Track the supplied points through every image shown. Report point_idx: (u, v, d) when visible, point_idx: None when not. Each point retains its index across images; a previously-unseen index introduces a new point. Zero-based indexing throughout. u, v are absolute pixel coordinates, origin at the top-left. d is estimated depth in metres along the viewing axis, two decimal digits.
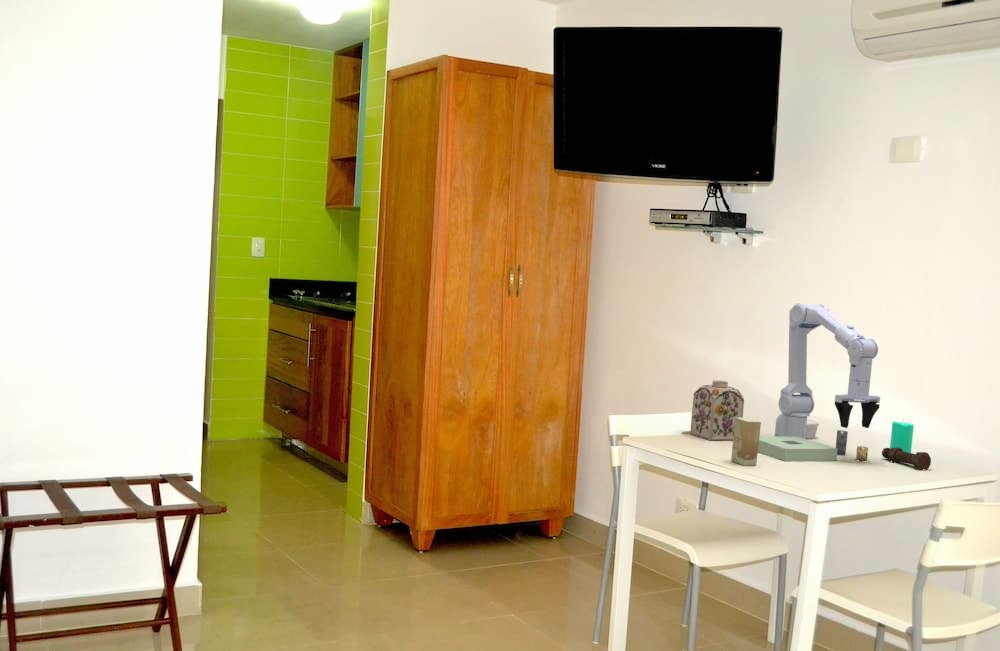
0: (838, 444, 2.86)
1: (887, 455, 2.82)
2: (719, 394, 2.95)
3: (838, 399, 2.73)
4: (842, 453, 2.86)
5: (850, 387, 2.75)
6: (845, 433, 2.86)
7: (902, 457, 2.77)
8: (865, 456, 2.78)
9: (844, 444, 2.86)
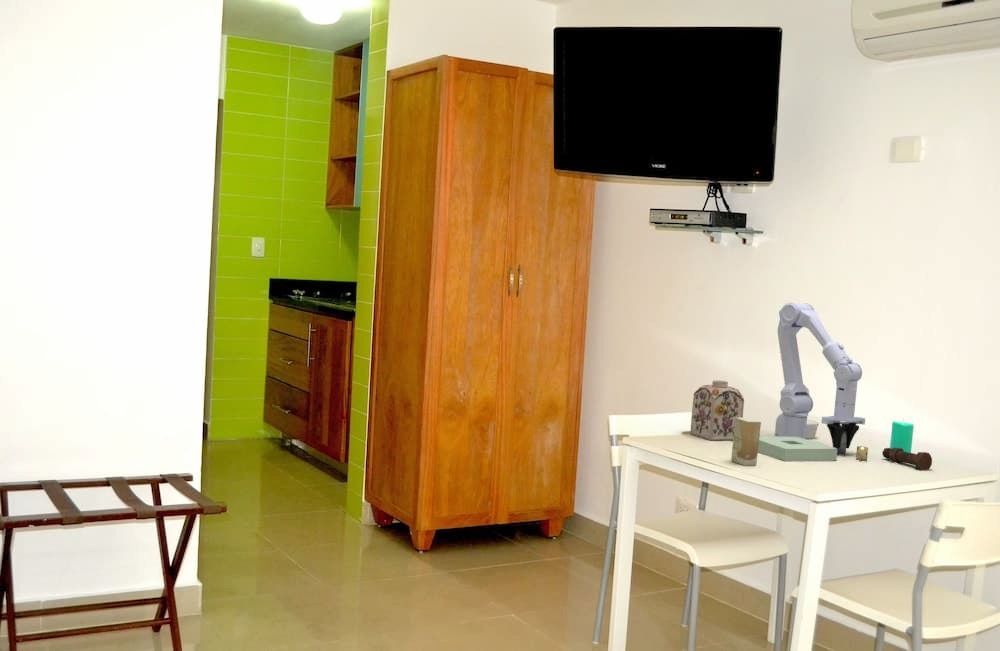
0: None
1: (888, 455, 2.82)
2: (719, 394, 2.95)
3: (825, 421, 2.84)
4: (842, 453, 2.86)
5: (836, 409, 2.86)
6: (845, 433, 2.86)
7: (903, 457, 2.77)
8: (865, 456, 2.78)
9: (844, 444, 2.86)
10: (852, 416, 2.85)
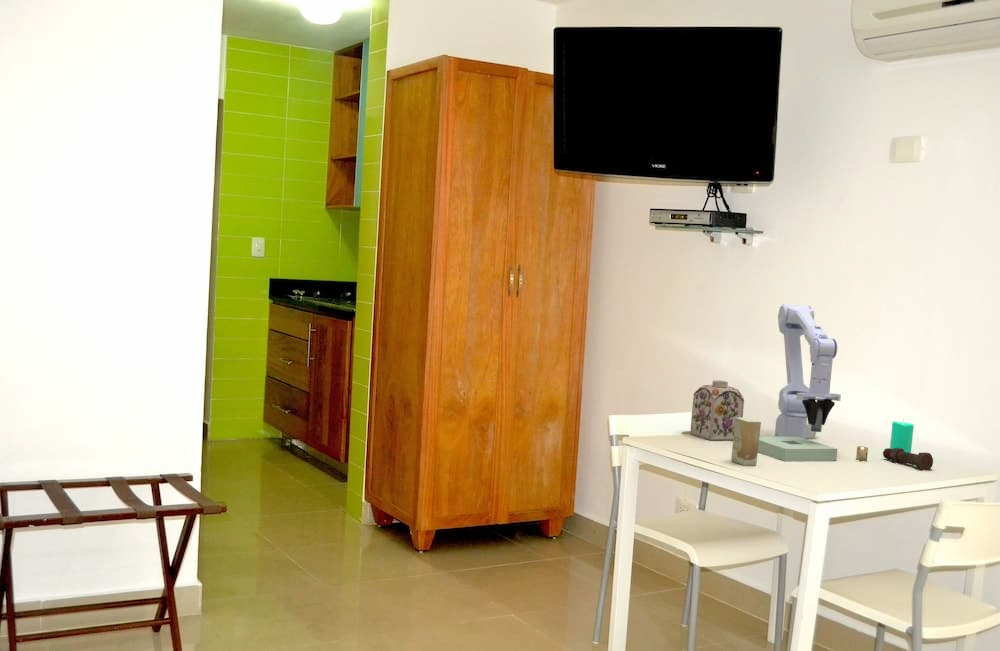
0: None
1: (888, 455, 2.82)
2: (719, 394, 2.95)
3: (800, 397, 2.80)
4: (818, 430, 2.82)
5: (811, 385, 2.82)
6: (821, 409, 2.82)
7: (904, 457, 2.76)
8: (865, 456, 2.78)
9: (820, 421, 2.82)
10: (827, 392, 2.81)
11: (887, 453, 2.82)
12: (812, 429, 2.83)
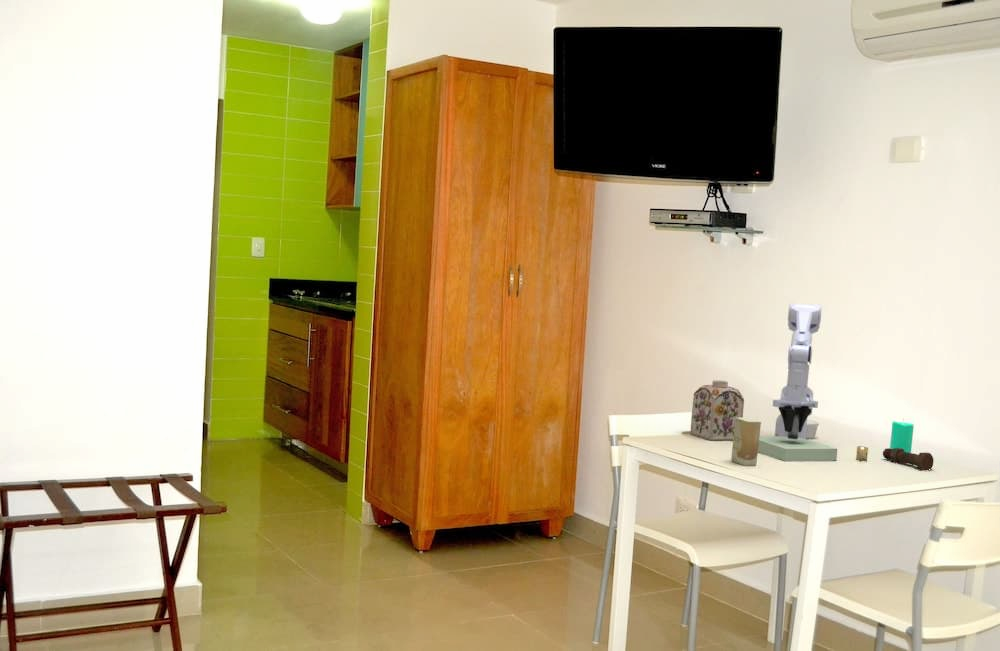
0: None
1: (888, 456, 2.82)
2: (719, 394, 2.95)
3: (776, 404, 2.77)
4: (794, 437, 2.79)
5: (788, 392, 2.79)
6: (797, 416, 2.79)
7: (904, 457, 2.76)
8: (865, 456, 2.78)
9: (796, 428, 2.79)
10: (804, 399, 2.78)
11: (887, 453, 2.82)
12: (788, 436, 2.80)
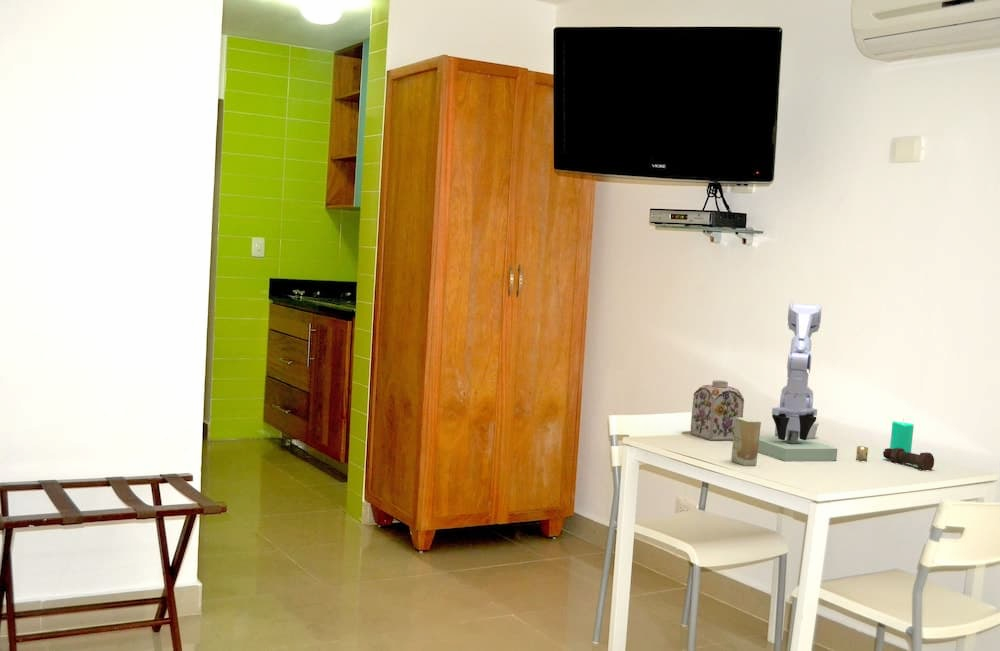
0: None
1: (889, 456, 2.82)
2: (719, 394, 2.95)
3: (775, 412, 2.77)
4: None
5: (787, 400, 2.79)
6: (795, 433, 2.79)
7: (905, 457, 2.76)
8: (865, 456, 2.78)
9: None
10: (803, 407, 2.78)
11: (887, 453, 2.82)
12: None
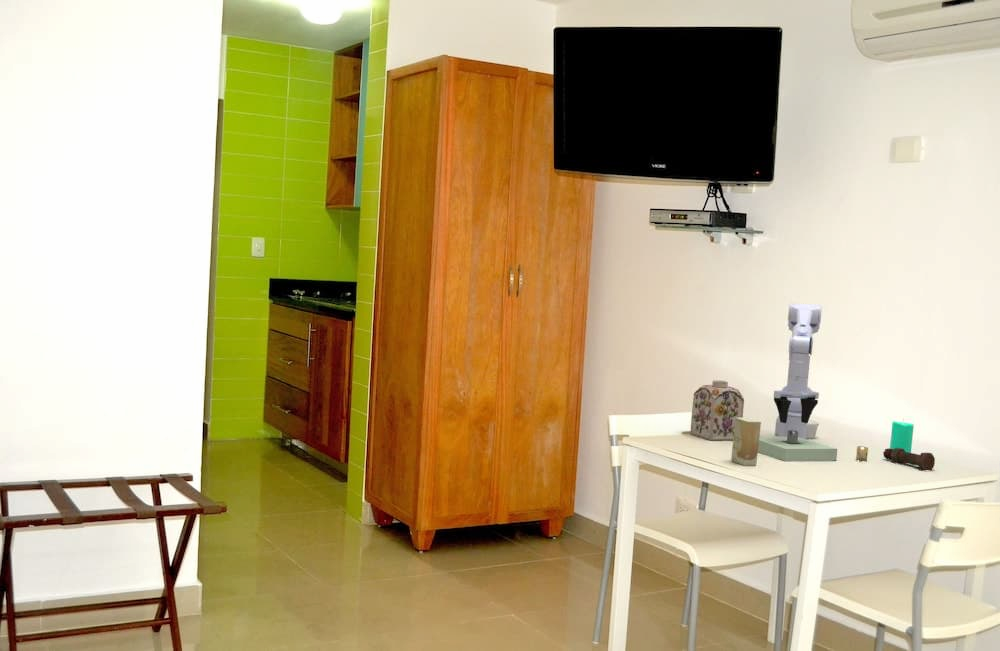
0: None
1: (889, 456, 2.81)
2: (719, 394, 2.95)
3: (776, 395, 2.77)
4: None
5: (789, 383, 2.79)
6: (795, 433, 2.79)
7: (905, 457, 2.76)
8: (865, 456, 2.78)
9: None
10: (805, 390, 2.78)
11: (888, 453, 2.82)
12: None
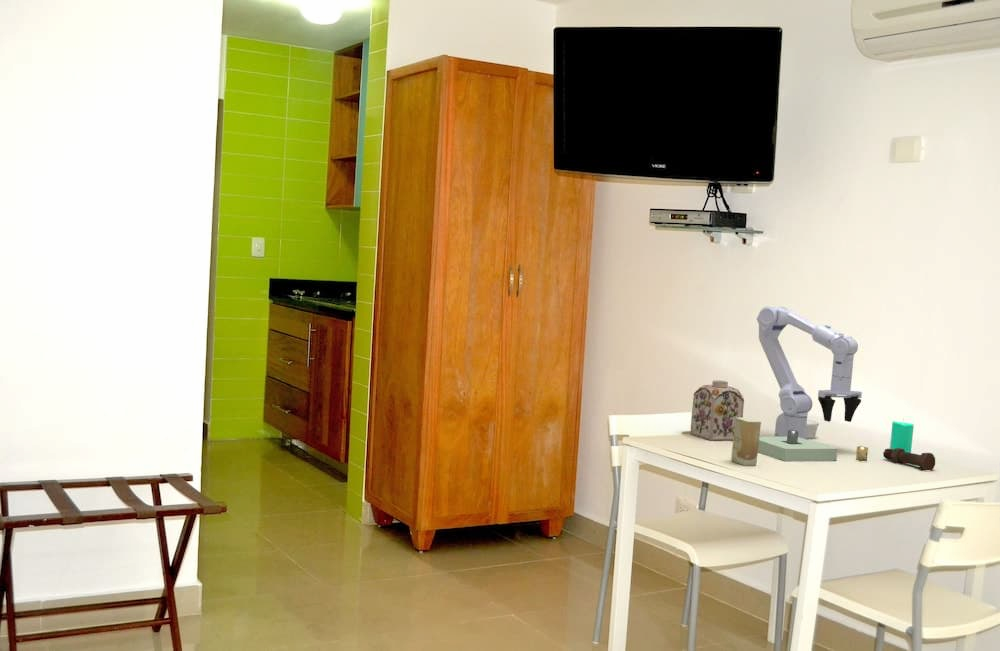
0: None
1: (889, 456, 2.81)
2: (719, 394, 2.95)
3: (821, 394, 2.87)
4: None
5: (833, 383, 2.89)
6: (795, 433, 2.79)
7: (906, 457, 2.76)
8: (865, 456, 2.78)
9: None
10: (848, 389, 2.87)
11: (888, 453, 2.82)
12: None
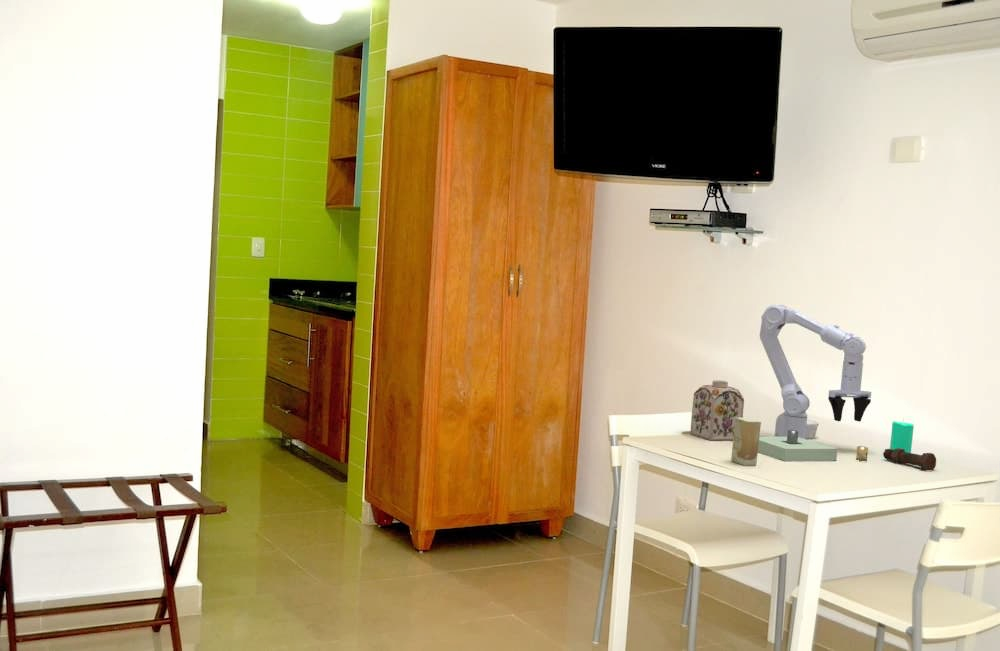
0: None
1: (889, 456, 2.81)
2: (719, 394, 2.95)
3: (831, 394, 2.89)
4: None
5: (843, 383, 2.91)
6: (795, 433, 2.79)
7: (906, 458, 2.76)
8: (865, 456, 2.78)
9: None
10: (858, 389, 2.90)
11: (888, 454, 2.81)
12: None
